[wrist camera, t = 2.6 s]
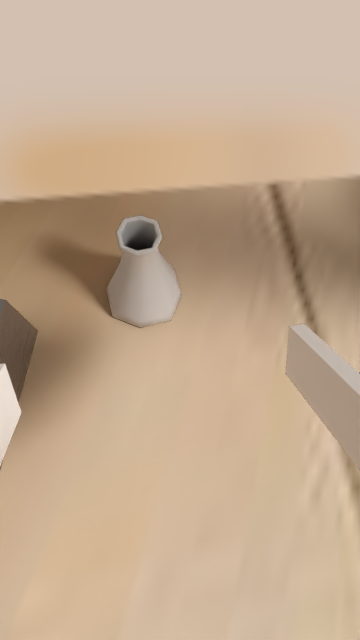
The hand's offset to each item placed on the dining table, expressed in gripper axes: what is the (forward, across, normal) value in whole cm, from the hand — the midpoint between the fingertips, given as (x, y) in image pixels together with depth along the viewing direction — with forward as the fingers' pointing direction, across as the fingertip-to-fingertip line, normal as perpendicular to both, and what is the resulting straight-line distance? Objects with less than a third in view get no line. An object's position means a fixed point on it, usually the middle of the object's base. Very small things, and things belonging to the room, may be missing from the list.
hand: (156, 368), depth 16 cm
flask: (+18, 0, -3) cm, 18 cm away
